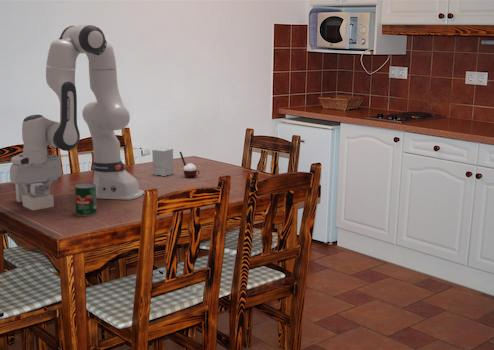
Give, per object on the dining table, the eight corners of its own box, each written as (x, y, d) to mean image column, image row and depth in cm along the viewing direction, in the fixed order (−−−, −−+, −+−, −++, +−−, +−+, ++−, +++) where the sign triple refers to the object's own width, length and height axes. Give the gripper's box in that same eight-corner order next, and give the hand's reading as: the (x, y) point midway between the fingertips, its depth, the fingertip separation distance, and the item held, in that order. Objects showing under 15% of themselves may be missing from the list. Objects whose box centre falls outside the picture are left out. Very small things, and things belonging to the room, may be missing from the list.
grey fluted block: (173, 174, 322) (173, 148, 320) (164, 177, 316) (163, 151, 314) (162, 172, 326) (161, 147, 324) (152, 175, 320) (151, 149, 317)
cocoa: (200, 177, 317) (202, 153, 315) (192, 179, 312) (194, 154, 309) (185, 174, 322) (186, 150, 320) (177, 176, 317) (178, 151, 314)
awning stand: (69, 203, 266) (68, 182, 264) (32, 210, 256) (31, 187, 254) (47, 195, 279) (46, 174, 277) (12, 201, 269) (10, 179, 267)
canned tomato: (77, 216, 248) (76, 188, 245) (74, 211, 255) (72, 183, 252) (98, 214, 251) (97, 186, 248) (94, 209, 258) (93, 182, 256)
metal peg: (45, 206, 262) (44, 184, 260) (36, 208, 259) (34, 185, 257) (41, 204, 264) (39, 182, 263) (31, 206, 262) (30, 184, 260)
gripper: (56, 152, 267) (58, 186, 270) (6, 158, 253) (9, 194, 256) (63, 154, 262) (65, 188, 265) (14, 161, 248) (16, 197, 251)
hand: (37, 191), depth 260 cm, fingers open, 7 cm apart
